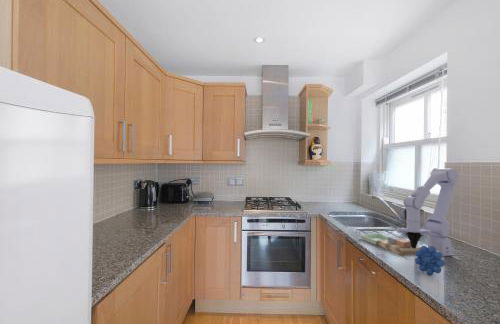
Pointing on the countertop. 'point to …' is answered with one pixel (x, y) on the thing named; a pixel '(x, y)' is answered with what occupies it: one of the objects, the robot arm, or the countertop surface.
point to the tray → (373, 238)
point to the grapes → (429, 260)
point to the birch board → (397, 248)
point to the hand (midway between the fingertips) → (413, 247)
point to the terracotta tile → (403, 243)
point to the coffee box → (420, 219)
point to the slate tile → (393, 239)
